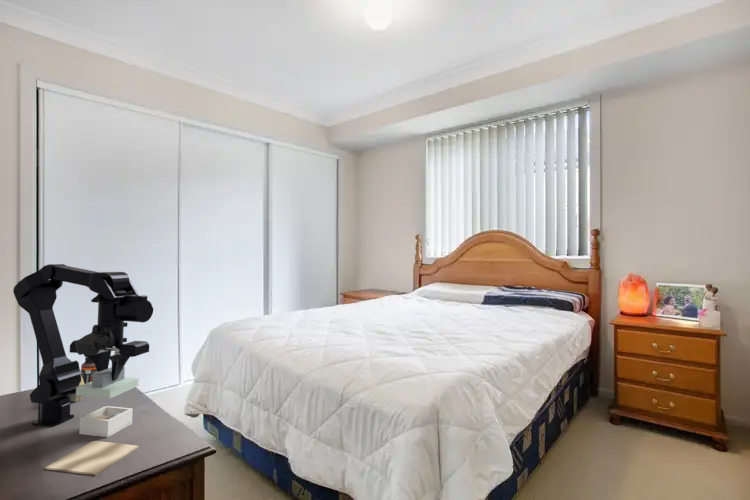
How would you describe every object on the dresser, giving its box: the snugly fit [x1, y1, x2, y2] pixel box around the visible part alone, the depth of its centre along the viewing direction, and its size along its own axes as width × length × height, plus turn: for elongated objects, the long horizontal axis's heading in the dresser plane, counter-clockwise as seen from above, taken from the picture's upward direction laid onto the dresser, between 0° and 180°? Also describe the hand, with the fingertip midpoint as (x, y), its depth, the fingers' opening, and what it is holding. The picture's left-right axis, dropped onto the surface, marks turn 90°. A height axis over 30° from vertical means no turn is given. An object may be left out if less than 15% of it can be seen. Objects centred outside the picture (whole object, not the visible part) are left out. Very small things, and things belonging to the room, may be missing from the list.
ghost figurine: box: [69, 376, 84, 404], centre depth 120 cm, size 6×5×8 cm
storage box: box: [79, 405, 133, 438], centre depth 102 cm, size 8×8×4 cm
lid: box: [76, 366, 140, 399], centre depth 102 cm, size 10×10×5 cm
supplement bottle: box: [80, 356, 98, 384], centre depth 128 cm, size 6×6×11 cm
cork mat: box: [44, 440, 140, 476], centre depth 87 cm, size 12×12×1 cm
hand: (108, 379), depth 102 cm, fingers closed on lid, 3 cm apart
